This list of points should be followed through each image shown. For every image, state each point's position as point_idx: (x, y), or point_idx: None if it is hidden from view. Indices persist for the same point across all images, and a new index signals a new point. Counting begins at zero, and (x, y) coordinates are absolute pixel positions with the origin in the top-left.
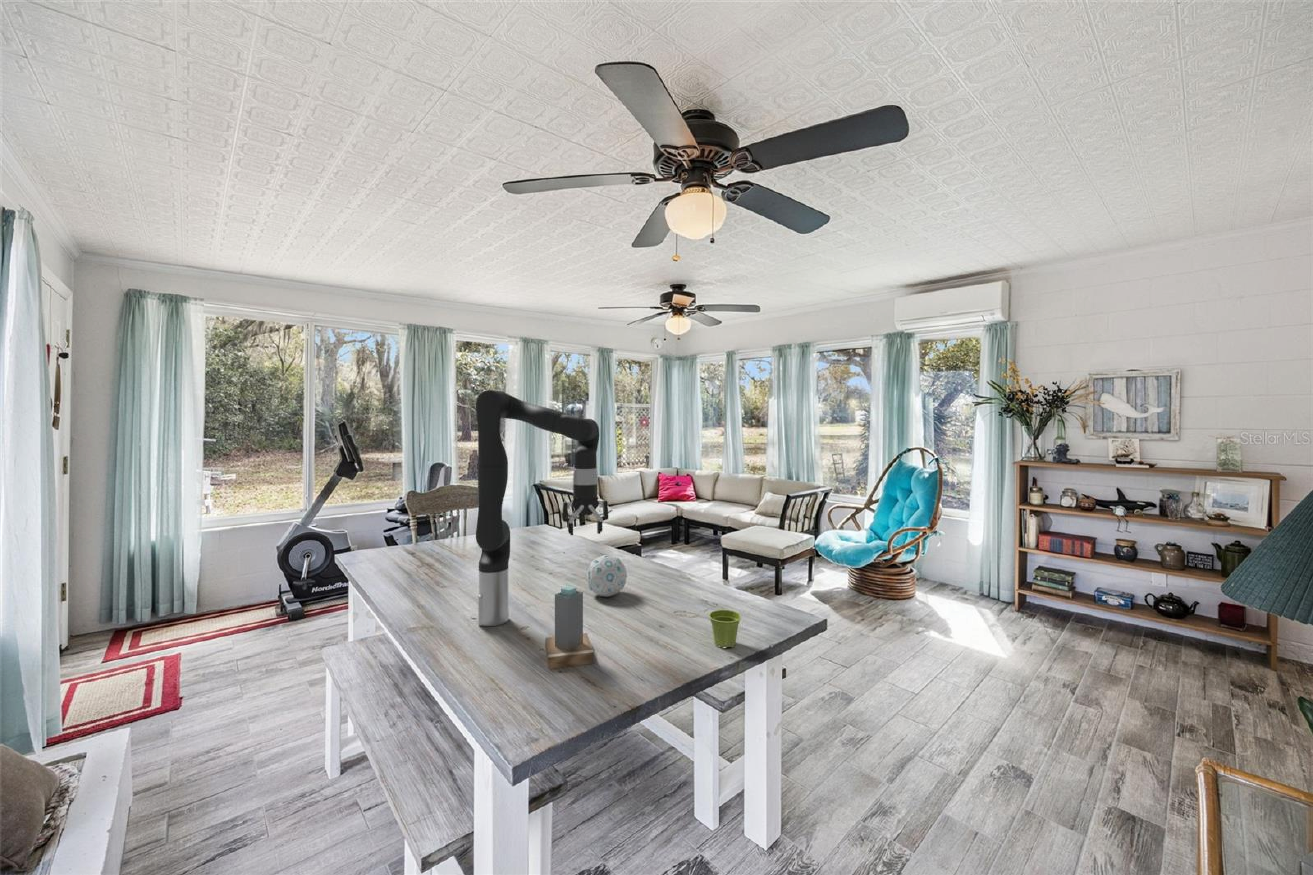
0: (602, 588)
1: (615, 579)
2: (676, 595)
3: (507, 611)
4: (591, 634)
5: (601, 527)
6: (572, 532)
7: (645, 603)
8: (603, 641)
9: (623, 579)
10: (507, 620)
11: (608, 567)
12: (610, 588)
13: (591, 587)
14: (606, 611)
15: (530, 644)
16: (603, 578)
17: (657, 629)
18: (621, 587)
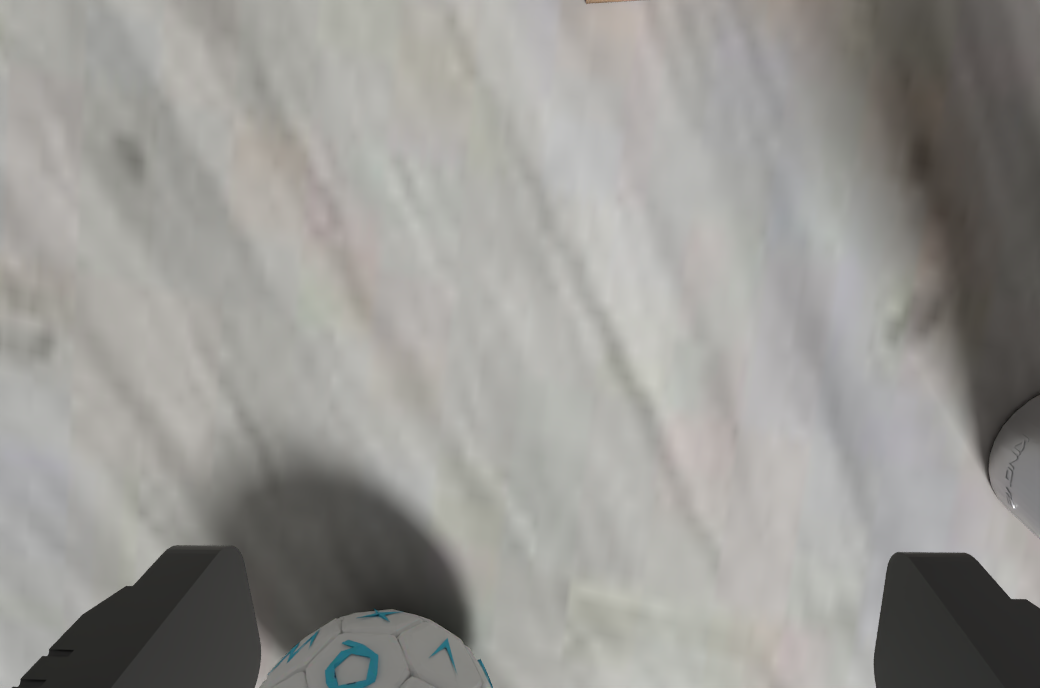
0: (419, 627)
1: (321, 655)
2: (29, 563)
3: (1036, 456)
4: (544, 132)
5: (52, 675)
6: (951, 590)
7: (202, 497)
8: (484, 9)
9: (273, 671)
10: (1003, 430)
11: None
12: (370, 618)
13: (482, 670)
14: (425, 440)
15: (923, 64)
16: (397, 669)
17: (155, 116)
18: (305, 637)
